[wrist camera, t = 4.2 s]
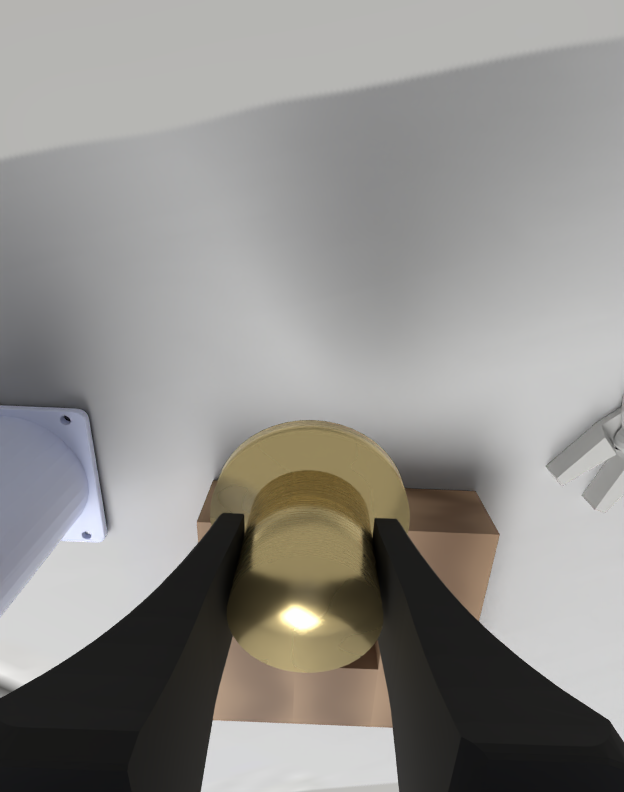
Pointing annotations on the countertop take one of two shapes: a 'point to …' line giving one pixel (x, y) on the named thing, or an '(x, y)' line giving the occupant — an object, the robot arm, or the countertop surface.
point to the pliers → (596, 461)
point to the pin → (308, 542)
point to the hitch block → (364, 678)
